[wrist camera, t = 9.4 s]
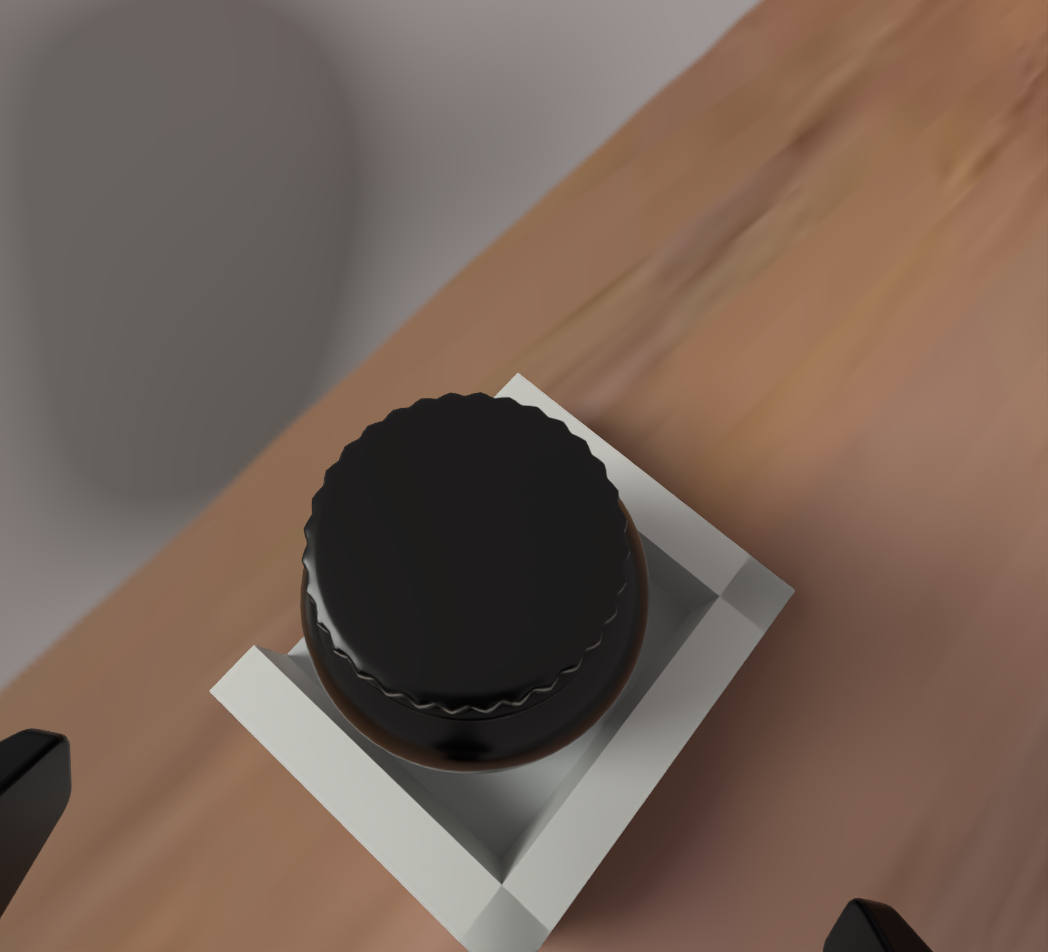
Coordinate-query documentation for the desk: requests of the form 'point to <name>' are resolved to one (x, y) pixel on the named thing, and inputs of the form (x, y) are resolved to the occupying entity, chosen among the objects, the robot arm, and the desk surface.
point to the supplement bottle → (472, 585)
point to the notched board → (549, 784)
